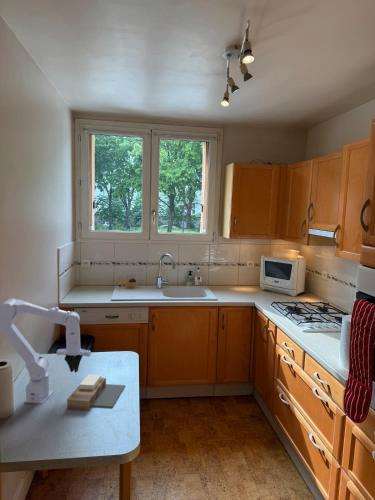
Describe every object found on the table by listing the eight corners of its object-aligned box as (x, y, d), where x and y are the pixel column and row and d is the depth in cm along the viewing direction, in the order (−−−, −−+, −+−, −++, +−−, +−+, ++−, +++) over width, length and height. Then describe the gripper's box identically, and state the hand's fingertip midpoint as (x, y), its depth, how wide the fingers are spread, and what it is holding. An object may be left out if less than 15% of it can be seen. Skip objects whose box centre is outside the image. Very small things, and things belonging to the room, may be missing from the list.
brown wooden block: (89, 410, 135) (88, 401, 134) (67, 409, 136) (66, 399, 135) (106, 386, 153) (105, 378, 153) (86, 385, 154) (86, 376, 154)
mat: (112, 407, 137) (112, 406, 136) (92, 406, 138) (92, 405, 137) (125, 386, 153) (125, 385, 153) (106, 385, 154) (106, 384, 154)
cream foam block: (93, 389, 143) (93, 385, 142) (79, 388, 143) (79, 384, 143) (101, 379, 152) (101, 375, 151) (88, 378, 152) (88, 374, 152)
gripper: (93, 338, 149) (94, 367, 151) (61, 336, 151) (62, 366, 153) (86, 344, 142) (87, 375, 144) (53, 342, 144) (55, 373, 146)
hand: (74, 371), depth 148 cm, fingers closed
